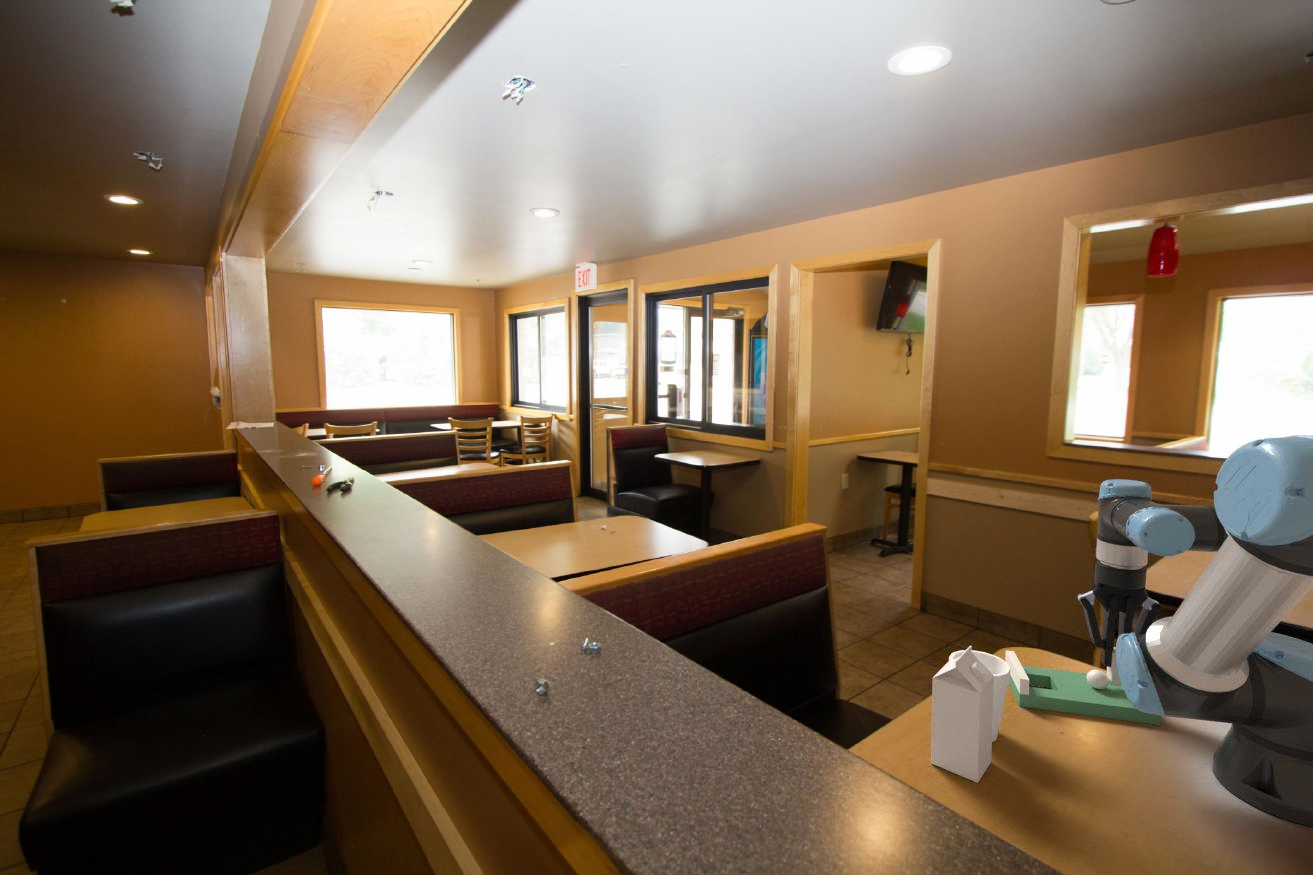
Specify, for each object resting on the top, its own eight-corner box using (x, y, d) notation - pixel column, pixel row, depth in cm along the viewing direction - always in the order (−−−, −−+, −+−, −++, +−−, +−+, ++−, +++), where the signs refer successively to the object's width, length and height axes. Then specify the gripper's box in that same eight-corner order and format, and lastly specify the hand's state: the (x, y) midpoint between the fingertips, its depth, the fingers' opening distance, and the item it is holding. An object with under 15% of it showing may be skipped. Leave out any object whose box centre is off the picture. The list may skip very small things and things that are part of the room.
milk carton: (930, 764, 97) (932, 654, 95) (946, 744, 102) (948, 639, 100) (977, 784, 92) (980, 668, 90) (991, 762, 97) (995, 652, 95)
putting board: (1160, 724, 106) (1162, 695, 105) (1019, 706, 113) (1020, 678, 112) (1131, 690, 117) (1132, 663, 116) (1004, 675, 124) (1005, 650, 124)
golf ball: (1115, 680, 111) (1095, 670, 112) (1106, 696, 112) (1086, 686, 113) (1109, 672, 114) (1089, 663, 115) (1100, 687, 115) (1080, 678, 116)
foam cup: (946, 739, 104) (948, 669, 102) (948, 712, 112) (949, 646, 110) (1009, 754, 99) (1012, 680, 98) (1006, 724, 107) (1008, 656, 106)
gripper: (1155, 559, 111) (1147, 677, 114) (1073, 554, 116) (1067, 667, 119) (1173, 572, 104) (1164, 698, 107) (1085, 566, 109) (1079, 687, 112)
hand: (1113, 682), depth 113 cm, fingers closed
